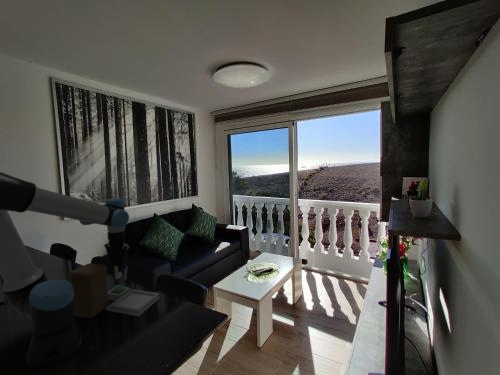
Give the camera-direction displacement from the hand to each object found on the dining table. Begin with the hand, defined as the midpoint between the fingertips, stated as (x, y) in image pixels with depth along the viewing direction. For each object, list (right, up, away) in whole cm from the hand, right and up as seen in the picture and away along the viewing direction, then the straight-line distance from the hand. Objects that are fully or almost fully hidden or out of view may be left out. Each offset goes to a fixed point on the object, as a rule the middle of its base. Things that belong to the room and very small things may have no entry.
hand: (118, 277), depth 123 cm
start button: (0, -8, 0) cm, 8 cm away
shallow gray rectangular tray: (+10, -10, -6) cm, 16 cm away
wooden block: (-6, -11, -13) cm, 17 cm away
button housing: (0, -9, +1) cm, 9 cm away
